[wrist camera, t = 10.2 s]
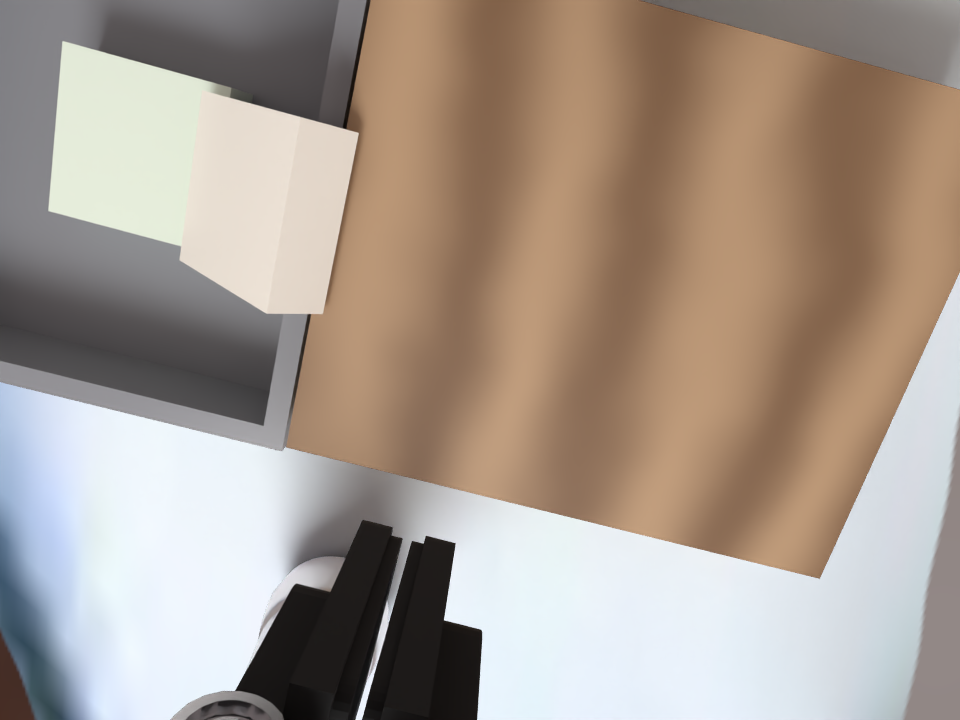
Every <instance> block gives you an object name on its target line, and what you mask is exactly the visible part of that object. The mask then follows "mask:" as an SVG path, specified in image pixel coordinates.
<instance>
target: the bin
mask: <svg viewBox="0 0 960 720" xmlns="http://www.w3.org/2000/svg"><path fill="white" fill-rule="evenodd" d="M370 2H371V0H0V382H2V383H6V384H10V385H14V386H18V387H22V388H26V389H31V390H35V391H39V392H43V393H47V394H51V395H55V396H59V397H63V398H67V399H71V400H75V401H79V402H83V403H87V404H92V405H96V406H100V407H104V408H108V409H112V410H116V411H120V412H124V413H128V414H132V415H136V416H140V417H144V418H148V419H153V420H157V421H161V422H165V423H169V424H173V425H177V426H181V427H185V428H189V429H193V430H197V431H201V432H205V433H209V434H214V435H218V436H222V437H226V438H230V439H234V440H238V441H242V442H246V443H250V444H254V445H258V446H262V447H266V448H270V449H275V450H279V451H282V450H283V449H284V448H285V447H286V445H287V440H288V435H289V429H290V424H291V419H292V413H293V408H294V403H295V398H296V392H297V387H298V382H299V377H300V371H301V366H302V361H303V355H304V350H305V345H306V340H307V334H308V329H309V324H310V318H311V314H266V313H264V312H263V311H261V310H260V309H258V308H256V307H255V306H253V305H251V304H250V303H248V302H247V301H245V300H243V299H242V298H240V297H238V296H237V295H235V294H234V293H232V292H230V291H229V290H227V289H225V288H224V287H222V286H221V285H219V284H217V283H216V282H214V281H212V280H211V279H209V278H208V277H206V276H204V275H203V274H201V273H199V272H198V271H196V270H195V269H193V268H191V267H190V266H188V265H186V264H185V263H183V262H181V261H180V252H181V246H178V245H174V244H170V243H167V242H163V241H159V240H155V239H152V238H148V237H144V236H140V235H137V234H133V233H129V232H125V231H121V230H118V229H114V228H110V227H106V226H103V225H99V224H95V223H91V222H88V221H84V220H80V219H76V218H73V217H69V216H65V215H61V214H58V213H54V212H50V211H48V208H49V196H50V184H51V172H52V160H53V148H54V137H55V125H56V113H57V101H58V89H59V77H60V65H61V53H62V41H65V42H68V43H72V44H75V45H79V46H83V47H86V48H90V49H93V50H97V51H101V52H104V53H108V54H111V55H115V56H119V57H122V58H126V59H129V60H133V61H137V62H140V63H144V64H148V65H151V66H155V67H158V68H162V69H166V70H169V71H173V72H176V73H180V74H184V75H187V76H191V77H194V78H198V79H202V80H205V81H209V82H212V83H216V84H220V85H223V86H227V87H230V88H234V89H237V90H240V91H243V92H246V93H249V94H252V95H253V99H252V104H254V105H258V106H262V107H265V108H269V109H273V110H276V111H280V112H284V113H287V114H291V115H295V116H298V117H302V118H306V119H309V120H313V121H317V122H320V123H324V124H328V125H331V126H335V127H339V128H342V129H346V128H347V123H348V118H349V113H350V107H351V102H352V97H353V91H354V86H355V81H356V76H357V70H358V65H359V60H360V54H361V49H362V44H363V39H364V33H365V28H366V23H367V18H368V12H369V7H370Z"/></svg>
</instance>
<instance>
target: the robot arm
mask: <svg viewBox="0 0 960 720" xmlns="http://www.w3.org/2000/svg"><path fill="white" fill-rule="evenodd" d="M392 530H393V527H389V526H385V525H381V524H377V523H373V522H370V521H366V520H363V521H362V523H361V525H360V527H359V529H358V531H357V534H356V536H355V538H354V540H353V543H352V545H351V547H350V549H349V551H348V554H347V556H346V558H345V560H344V563H343V565H342V567H341V569H340V571H339V574H338V576H337V578H336V580H335V583H334V585H333V587H332V589H331V592H329V591H325V590H321V589H317V588H313V587H309V586H305V585H301V584H297V583H296V584H295V585H294V586H293V587H292V589H291V590H290V592H289V594H288V596H287V598H286V600H285V601H284V603H283V605H282V607H281V609H280V610H279V612H278V614H277V616H276V618H275V620H274V621H273V623H272V625H271V627H270V629H269V630H268V632H267V634H266V636H265V638H264V640H263V641H262V643H261V645H260V647H259V649H258V650H257V652H256V654H255V656H254V658H253V659H252V661H251V663H250V665H249V667H248V669H247V670H246V672H245V674H244V676H243V678H242V679H241V681H240V683H239V685H238V687H237V689H236V690H235V691H221V692H217V693H212V694H208V695H204V696H202V697H200V698H198V699H196V700H194V701H192V702H190V703H188V704H187V705H186V706H184V707H183V708H182V709H181V710H180V711H179V712H178V713H176V714H175V715H174V716H173V717H172V718H171V720H355V719H356V715H357V712H358V708H359V705H360V702H361V698H362V695H363V691H364V688H365V684H366V681H367V677H368V674H369V670H370V666H371V662H372V658H373V654H374V650H375V646H376V642H377V638H378V634H379V630H380V626H381V622H382V618H383V614H384V610H385V606H386V603H387V599H388V595H389V591H390V587H391V583H392V579H393V575H394V571H395V567H396V563H397V559H398V555H399V551H400V547H401V543H402V538H398V537H394V536H391V535H392ZM454 551H455V543H452V542H448V541H444V540H440V539H436V538H433V537H429V536H426V537H425V541H424V544H422V543H418V542H414V541H412V543H411V546H410V550H409V553H408V557H407V561H406V564H405V568H404V571H403V575H402V578H401V582H400V585H399V589H398V593H397V596H396V600H395V603H394V607H393V610H392V614H391V617H390V621H389V625H388V628H387V632H386V635H385V639H384V642H383V646H382V649H381V653H380V657H379V660H378V664H377V667H376V671H375V674H374V678H373V682H372V685H371V689H370V692H369V696H368V700H367V703H366V707H365V711H364V715H363V719H362V720H477V712H478V696H479V680H480V664H481V648H482V631H481V630H480V629H476V628H472V627H468V626H464V625H460V624H456V623H452V622H448V621H444V615H445V609H446V602H447V596H448V589H449V583H450V577H451V570H452V564H453V557H454Z"/></svg>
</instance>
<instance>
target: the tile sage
mask: <svg viewBox="0 0 960 720" xmlns="http://www.w3.org/2000/svg"><path fill="white" fill-rule="evenodd" d="M202 90H203V91H207V92H210V93H214V94H218V95H221V96H225V97H229V98H232V99H236V100H240V101H243V102H247V103H251V104H252V99H253V95H252V94H249V93H246V92H243V91H240V90H237V89H234V88H230V87H227V86H223V85H220V84H216V83H212V82H209V81H205V80H202V79H198V78H194V77H191V76H187V75H184V74H180V73H176V72H173V71H169V70H166V69H162V68H158V67H155V66H151V65H148V64H144V63H140V62H137V61H133V60H129V59H126V58H122V57H119V56H115V55H111V54H108V53H104V52H101V51H97V50H93V49H90V48H86V47H83V46H79V45H75V44H72V43H68V42H65V41H62V53H61V65H60V77H59V89H58V101H57V113H56V125H55V137H54V148H53V160H52V172H51V184H50V196H49V208H48V211H50V212H54V213H58V214H61V215H65V216H69V217H73V218H76V219H80V220H84V221H88V222H91V223H95V224H99V225H103V226H106V227H110V228H114V229H118V230H121V231H125V232H129V233H133V234H137V235H140V236H144V237H148V238H152V239H155V240H159V241H163V242H167V243H170V244H174V245H178V246H181V245H182V237H183V230H184V222H185V215H186V207H187V200H188V192H189V185H190V177H191V170H192V162H193V155H194V147H195V140H196V132H197V125H198V117H199V110H200V103H201V95H202Z"/></svg>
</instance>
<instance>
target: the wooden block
mask: <svg viewBox="0 0 960 720" xmlns="http://www.w3.org/2000/svg"><path fill="white" fill-rule="evenodd" d="M346 130H350V131H353V132H357V133H359V135H358V140H357V145H356V150H355V155H354V160H353V165H352V170H351V175H350V180H349V185H348V190H347V195H346V200H345V205H344V210H343V215H342V220H341V225H340V230H339V235H338V240H337V245H336V250H335V255H334V260H333V266H332V271H331V276H330V281H329V286H328V291H327V296H326V301H325V306H324V311H323V314H311V318H310V324H309V329H308V334H307V340H306V345H305V350H304V355H303V361H302V366H301V371H300V377H299V382H298V387H297V392H296V398H295V403H294V408H293V413H292V419H291V424H290V429H289V435H288V440H287V445H286V447H287V448H291V449H295V450H299V451H303V452H307V453H311V454H316V455H320V456H324V457H328V458H332V459H336V460H340V461H344V462H348V463H352V464H356V465H360V466H364V467H368V468H372V469H376V470H381V471H385V472H389V473H393V474H397V475H401V476H405V477H409V478H413V479H417V480H421V481H425V482H429V483H433V484H437V485H441V486H445V487H450V488H454V489H458V490H462V491H466V492H470V493H474V494H478V495H482V496H486V497H490V498H494V499H498V500H502V501H506V502H510V503H515V504H519V505H523V506H527V507H531V508H535V509H539V510H543V511H547V512H551V513H555V514H559V515H563V516H567V517H571V518H575V519H580V520H584V521H588V522H592V523H596V524H600V525H604V526H608V527H612V528H616V529H620V530H624V531H628V532H632V533H636V534H640V535H645V536H649V537H653V538H657V539H661V540H665V541H669V542H673V543H677V544H681V545H685V546H689V547H693V548H697V549H701V550H705V551H710V552H714V553H718V554H722V555H726V556H730V557H734V558H738V559H742V560H746V561H750V562H754V563H758V564H762V565H766V566H770V567H775V568H779V569H783V570H787V571H791V572H795V573H799V574H803V575H807V576H811V577H815V578H819V579H820V577H821V575H822V572H823V570H824V568H825V566H826V564H827V562H828V559H829V557H830V555H831V553H832V551H833V548H834V546H835V544H836V542H837V540H838V537H839V535H840V533H841V531H842V529H843V526H844V524H845V522H846V520H847V518H848V516H849V513H850V511H851V509H852V507H853V505H854V502H855V500H856V498H857V496H858V494H859V491H860V489H861V487H862V485H863V483H864V481H865V478H866V476H867V474H868V472H869V470H870V467H871V465H872V463H873V461H874V459H875V456H876V454H877V452H878V450H879V448H880V445H881V443H882V441H883V439H884V437H885V435H886V432H887V430H888V428H889V426H890V424H891V421H892V419H893V417H894V415H895V413H896V410H897V408H898V406H899V404H900V402H901V400H902V397H903V395H904V393H905V391H906V389H907V386H908V384H909V382H910V380H911V378H912V375H913V373H914V371H915V369H916V367H917V365H918V362H919V360H920V358H921V356H922V354H923V351H924V349H925V347H926V345H927V343H928V340H929V338H930V336H931V334H932V332H933V329H934V327H935V325H936V323H937V321H938V319H939V316H940V314H941V312H942V310H943V308H944V305H945V303H946V301H947V299H948V297H949V294H950V292H951V290H952V288H953V286H954V284H955V281H956V279H957V277H958V275H959V273H960V90H959V89H955V88H952V87H948V86H944V85H941V84H937V83H934V82H930V81H927V80H923V79H919V78H916V77H912V76H909V75H905V74H902V73H898V72H894V71H891V70H887V69H884V68H880V67H876V66H873V65H869V64H866V63H862V62H859V61H855V60H851V59H848V58H844V57H841V56H837V55H834V54H830V53H826V52H823V51H819V50H816V49H812V48H809V47H805V46H801V45H798V44H794V43H791V42H787V41H783V40H780V39H776V38H773V37H769V36H766V35H762V34H758V33H755V32H751V31H748V30H744V29H741V28H737V27H733V26H730V25H726V24H723V23H719V22H715V21H712V20H708V19H705V18H701V17H698V16H694V15H690V14H687V13H683V12H680V11H676V10H673V9H669V8H665V7H662V6H658V5H655V4H651V3H648V2H644V1H640V0H371V2H370V7H369V12H368V18H367V23H366V28H365V33H364V39H363V44H362V49H361V54H360V60H359V65H358V70H357V76H356V81H355V86H354V91H353V97H352V102H351V107H350V113H349V118H348V123H347V128H346Z"/></svg>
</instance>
